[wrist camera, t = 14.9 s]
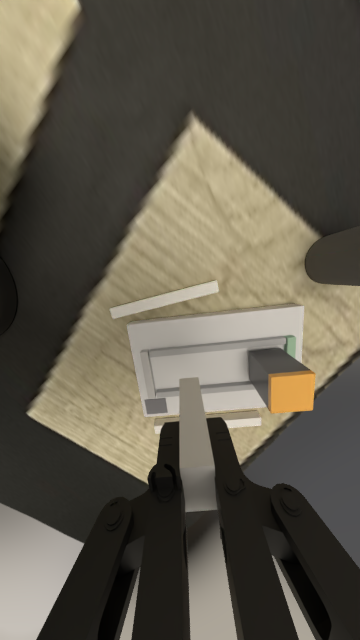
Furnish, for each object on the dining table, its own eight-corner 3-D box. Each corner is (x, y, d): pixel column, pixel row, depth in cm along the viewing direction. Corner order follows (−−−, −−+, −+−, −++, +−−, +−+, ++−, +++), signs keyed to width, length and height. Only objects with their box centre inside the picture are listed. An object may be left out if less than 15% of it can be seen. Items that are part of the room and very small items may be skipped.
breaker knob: (249, 379, 23) (271, 413, 17) (248, 351, 22) (271, 377, 16) (280, 376, 23) (312, 410, 17) (280, 348, 22) (315, 373, 16)
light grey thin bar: (116, 316, 24) (112, 319, 23) (113, 307, 24) (109, 308, 22) (217, 290, 23) (219, 291, 22) (214, 280, 23) (216, 280, 21)
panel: (147, 407, 28) (143, 421, 25) (131, 321, 24) (124, 326, 22) (290, 395, 26) (302, 408, 24) (294, 303, 23) (308, 306, 20)
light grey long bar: (156, 426, 28) (155, 433, 27) (155, 418, 28) (154, 426, 27) (257, 418, 28) (261, 425, 26) (257, 410, 27) (261, 417, 26)
